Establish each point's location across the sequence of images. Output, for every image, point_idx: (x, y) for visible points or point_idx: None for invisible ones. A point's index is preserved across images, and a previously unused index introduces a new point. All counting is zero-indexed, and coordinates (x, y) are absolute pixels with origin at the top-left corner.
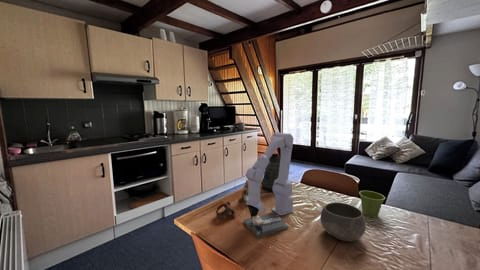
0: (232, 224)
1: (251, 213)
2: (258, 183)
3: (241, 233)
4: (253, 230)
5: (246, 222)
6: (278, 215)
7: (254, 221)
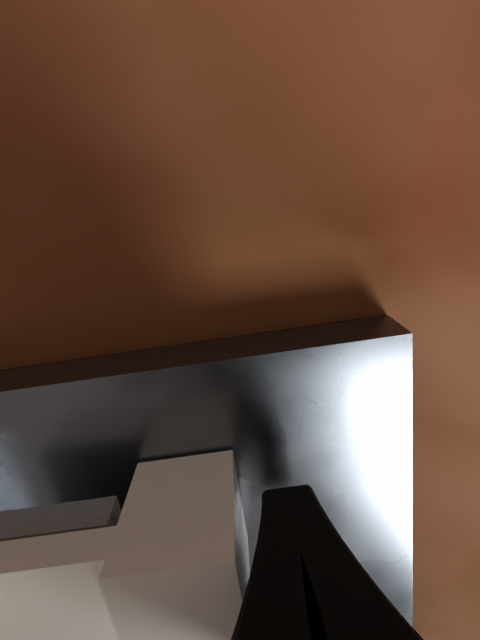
0: (412, 84)
1: (280, 628)
2: None
3: (60, 167)
4: (1, 389)
5: (287, 358)
6: None
7: (142, 513)
